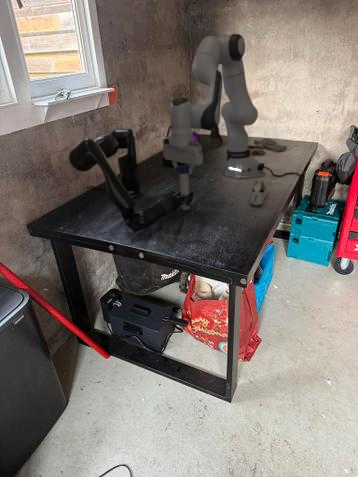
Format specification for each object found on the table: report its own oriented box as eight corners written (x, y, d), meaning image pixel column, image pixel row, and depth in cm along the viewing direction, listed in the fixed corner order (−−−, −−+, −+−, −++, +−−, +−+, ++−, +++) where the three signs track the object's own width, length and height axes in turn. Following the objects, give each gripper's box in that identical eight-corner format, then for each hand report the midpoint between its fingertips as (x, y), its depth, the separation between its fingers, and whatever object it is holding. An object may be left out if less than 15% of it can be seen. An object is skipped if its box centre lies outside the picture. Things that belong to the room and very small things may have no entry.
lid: (192, 171, 145) (191, 167, 144) (183, 174, 142) (183, 169, 141) (184, 169, 148) (184, 164, 147) (176, 172, 145) (175, 167, 144)
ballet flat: (269, 188, 169) (270, 173, 165) (265, 208, 149) (266, 191, 145) (252, 187, 171) (253, 172, 167) (246, 206, 151) (247, 190, 147)
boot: (223, 140, 259) (224, 113, 249) (220, 148, 239) (221, 119, 229) (212, 140, 261) (212, 113, 251) (208, 148, 241) (208, 120, 231)
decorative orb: (204, 151, 235) (204, 129, 228) (194, 156, 225) (193, 134, 217) (186, 149, 243) (186, 128, 235) (175, 154, 232) (174, 132, 224)
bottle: (190, 206, 155) (188, 167, 146) (189, 210, 152) (188, 170, 142) (181, 206, 156) (179, 167, 146) (181, 210, 152) (179, 170, 143)
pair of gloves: (252, 157, 216) (252, 149, 214) (231, 148, 237) (231, 141, 234) (288, 150, 226) (289, 142, 223) (266, 142, 247) (266, 135, 244)
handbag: (173, 167, 206) (170, 126, 194) (161, 166, 211) (158, 125, 198) (190, 158, 221) (188, 120, 209) (178, 157, 225) (176, 119, 213)
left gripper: (178, 201, 135) (201, 188, 147) (152, 195, 143) (175, 182, 154) (179, 217, 139) (201, 203, 150) (153, 210, 146) (176, 197, 158)
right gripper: (206, 141, 134) (206, 174, 141) (169, 136, 146) (171, 166, 153) (196, 145, 130) (197, 178, 137) (159, 139, 142) (162, 170, 149)
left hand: (188, 193), depth 152 cm, fingers closed on bottle, 4 cm apart
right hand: (183, 172), depth 145 cm, fingers open, 6 cm apart
